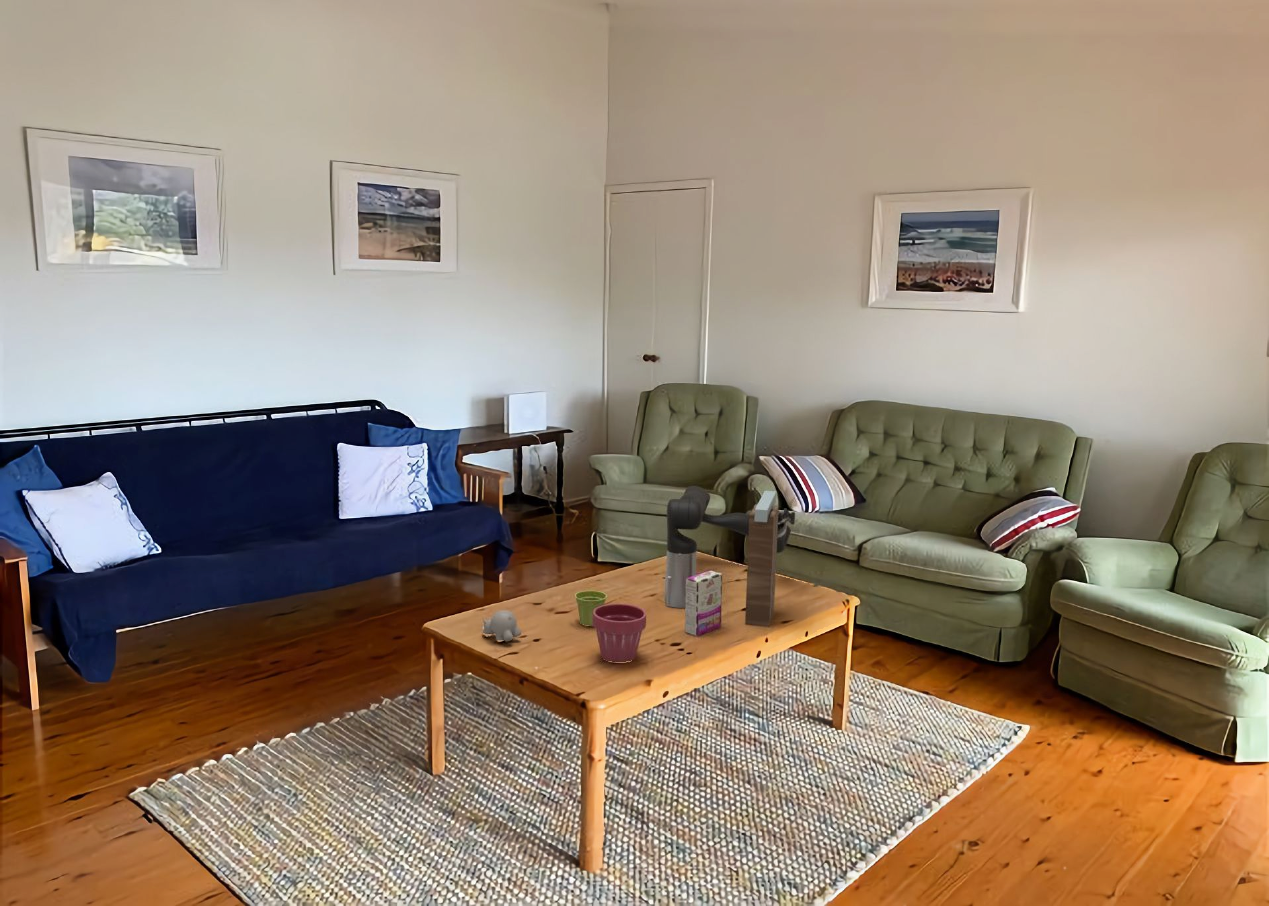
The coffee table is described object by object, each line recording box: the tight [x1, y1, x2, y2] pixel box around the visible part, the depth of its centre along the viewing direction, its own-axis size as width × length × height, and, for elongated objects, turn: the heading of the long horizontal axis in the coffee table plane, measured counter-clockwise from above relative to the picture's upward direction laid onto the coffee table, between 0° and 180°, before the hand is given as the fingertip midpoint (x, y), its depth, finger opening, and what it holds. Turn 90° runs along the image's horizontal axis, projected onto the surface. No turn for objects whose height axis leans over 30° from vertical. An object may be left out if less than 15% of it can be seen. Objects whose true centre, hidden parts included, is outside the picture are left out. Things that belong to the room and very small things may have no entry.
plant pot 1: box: [574, 590, 608, 627], centre depth 279 cm, size 9×9×9 cm
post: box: [744, 503, 779, 628], centre depth 284 cm, size 14×7×33 cm, turn 166°
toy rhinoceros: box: [481, 609, 522, 642], centre depth 266 cm, size 7×12×8 cm, turn 55°
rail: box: [754, 490, 777, 522], centre depth 284 cm, size 26×4×4 cm, turn 166°
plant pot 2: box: [592, 603, 647, 662], centre depth 254 cm, size 14×14×13 cm
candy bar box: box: [684, 570, 723, 637], centre depth 275 cm, size 11×5×16 cm, turn 136°
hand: (771, 510), depth 303 cm, fingers open, 8 cm apart
